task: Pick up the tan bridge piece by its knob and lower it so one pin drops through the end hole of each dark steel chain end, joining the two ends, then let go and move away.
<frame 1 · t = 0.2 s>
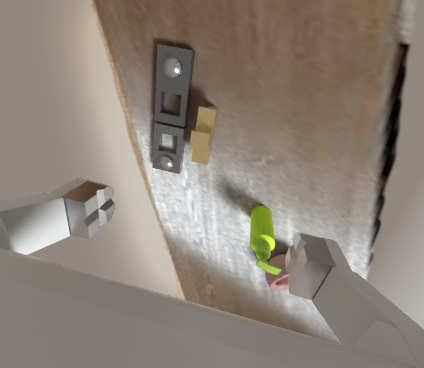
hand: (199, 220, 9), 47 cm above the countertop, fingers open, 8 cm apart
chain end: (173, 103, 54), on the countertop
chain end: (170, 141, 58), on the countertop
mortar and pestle: (283, 259, 69), on the countertop
tan bridge piece: (208, 131, 55), on the countertop
soap dispenser: (262, 214, 63), on the countertop
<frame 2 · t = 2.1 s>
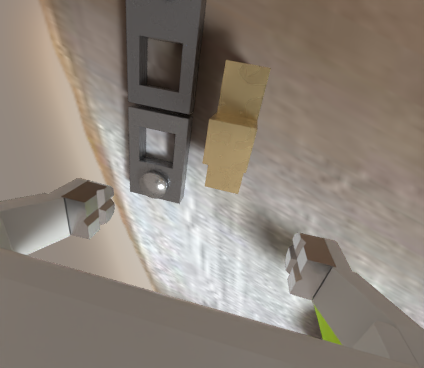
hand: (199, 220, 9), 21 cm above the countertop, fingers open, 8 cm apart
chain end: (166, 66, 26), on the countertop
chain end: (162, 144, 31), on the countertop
tan bridge piece: (237, 123, 28), on the countertop
soap dispenser: (327, 272, 36), on the countertop
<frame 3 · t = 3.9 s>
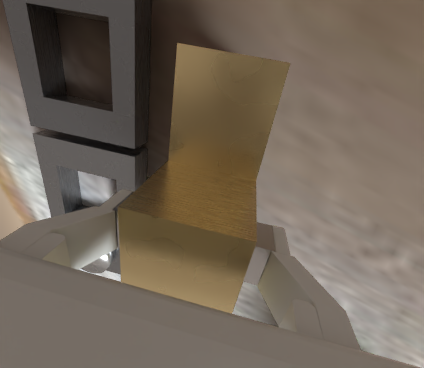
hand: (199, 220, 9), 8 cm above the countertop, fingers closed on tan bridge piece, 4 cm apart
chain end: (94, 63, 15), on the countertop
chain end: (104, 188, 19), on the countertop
tan bridge piece: (222, 162, 16), on the countertop, touching gripper
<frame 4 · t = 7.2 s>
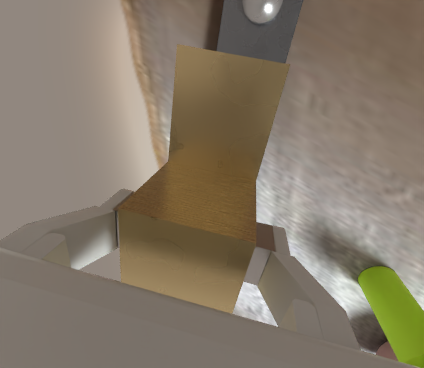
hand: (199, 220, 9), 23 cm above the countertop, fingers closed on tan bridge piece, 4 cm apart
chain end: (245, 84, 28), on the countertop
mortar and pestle: (396, 342, 43), on the countertop
tan bridge piece: (222, 162, 16), point 16 cm above the countertop, touching gripper
soap dispenser: (378, 279, 37), on the countertop
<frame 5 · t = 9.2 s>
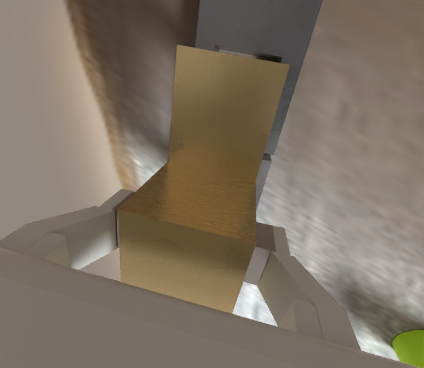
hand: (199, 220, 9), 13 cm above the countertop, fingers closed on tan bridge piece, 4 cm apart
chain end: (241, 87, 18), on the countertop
tan bridge piece: (222, 162, 16), point 5 cm above the countertop, touching gripper
soap dispenser: (420, 343, 28), on the countertop
when the fingers open (9 cm above the countertop, at t = 10.8 s): tan bridge piece stays where it is, on the countertop.
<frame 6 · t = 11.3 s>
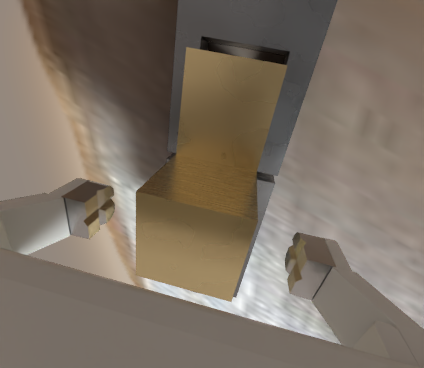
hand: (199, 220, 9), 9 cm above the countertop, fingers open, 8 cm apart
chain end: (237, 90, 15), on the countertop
tan bridge piece: (224, 158, 17), on the countertop
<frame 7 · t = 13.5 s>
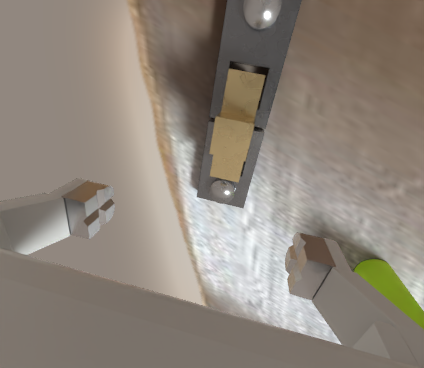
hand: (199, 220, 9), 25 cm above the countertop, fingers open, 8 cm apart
tan bridge piece: (237, 122, 32), on the countertop
soap dispenser: (374, 271, 39), on the countertop
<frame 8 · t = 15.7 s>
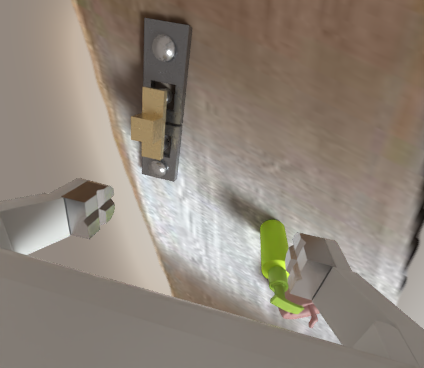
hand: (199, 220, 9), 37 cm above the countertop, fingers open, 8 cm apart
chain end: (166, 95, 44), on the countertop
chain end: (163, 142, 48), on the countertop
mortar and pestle: (297, 281, 59), on the countertop
tan bridge piece: (164, 120, 46), on the countertop
soap dispenser: (274, 229, 53), on the countertop
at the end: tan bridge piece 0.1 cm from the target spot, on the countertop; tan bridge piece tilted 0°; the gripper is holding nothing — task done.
